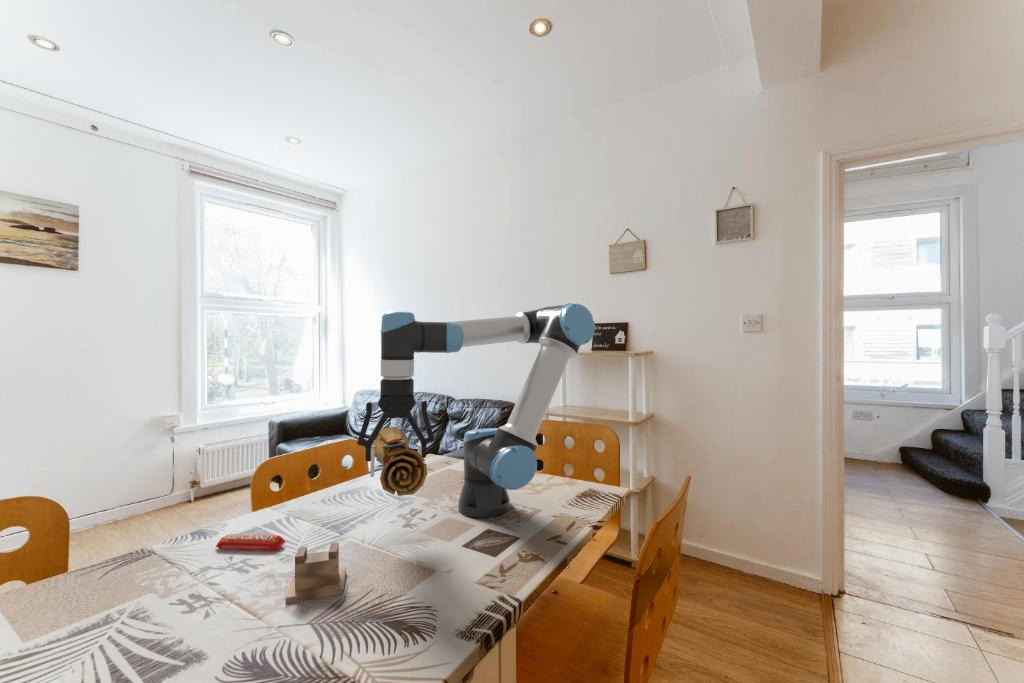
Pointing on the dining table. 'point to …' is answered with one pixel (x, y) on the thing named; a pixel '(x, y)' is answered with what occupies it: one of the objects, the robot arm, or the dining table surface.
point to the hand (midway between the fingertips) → (396, 473)
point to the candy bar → (250, 542)
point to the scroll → (399, 463)
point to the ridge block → (316, 575)
